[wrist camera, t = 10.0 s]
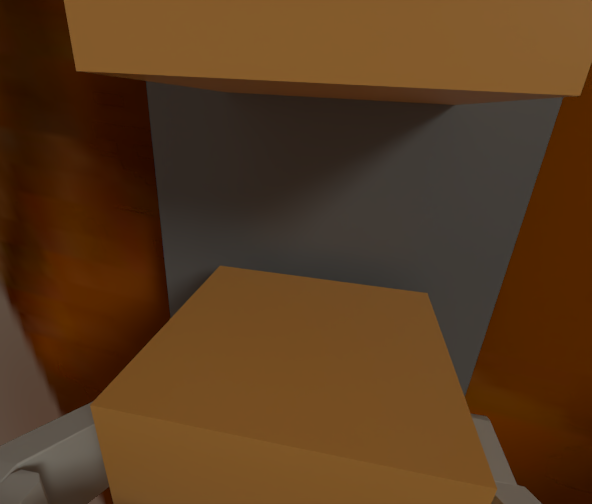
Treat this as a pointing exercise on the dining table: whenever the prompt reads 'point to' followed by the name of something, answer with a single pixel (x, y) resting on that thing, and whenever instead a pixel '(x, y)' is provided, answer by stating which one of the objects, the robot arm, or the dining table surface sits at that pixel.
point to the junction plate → (346, 136)
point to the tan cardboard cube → (292, 401)
